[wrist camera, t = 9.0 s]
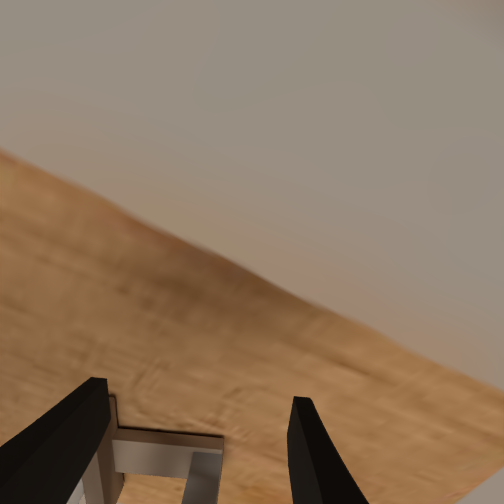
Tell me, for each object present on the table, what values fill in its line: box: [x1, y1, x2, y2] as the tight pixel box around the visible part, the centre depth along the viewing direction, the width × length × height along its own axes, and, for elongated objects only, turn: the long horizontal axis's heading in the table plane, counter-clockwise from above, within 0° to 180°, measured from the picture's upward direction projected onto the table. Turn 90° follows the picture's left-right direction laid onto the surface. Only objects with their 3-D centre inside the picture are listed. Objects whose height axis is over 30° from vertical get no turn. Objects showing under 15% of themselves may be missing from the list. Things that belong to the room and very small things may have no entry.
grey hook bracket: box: [82, 397, 224, 504], centre depth 23 cm, size 11×11×5 cm
